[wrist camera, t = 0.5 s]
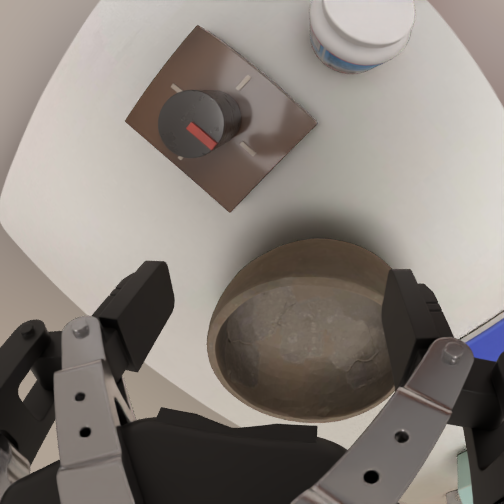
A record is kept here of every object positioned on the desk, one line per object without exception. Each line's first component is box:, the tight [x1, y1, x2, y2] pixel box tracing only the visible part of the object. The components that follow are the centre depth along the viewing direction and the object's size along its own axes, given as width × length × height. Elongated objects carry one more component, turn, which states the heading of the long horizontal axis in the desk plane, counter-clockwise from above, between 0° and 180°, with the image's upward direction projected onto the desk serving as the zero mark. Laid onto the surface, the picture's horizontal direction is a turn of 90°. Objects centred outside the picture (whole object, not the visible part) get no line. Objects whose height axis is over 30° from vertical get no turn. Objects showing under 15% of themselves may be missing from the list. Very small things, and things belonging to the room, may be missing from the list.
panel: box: [125, 25, 317, 212], centre depth 24 cm, size 12×10×3 cm
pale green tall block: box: [457, 451, 473, 504], centre depth 36 cm, size 17×8×21 cm
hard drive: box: [461, 312, 504, 362], centre depth 30 cm, size 2×8×12 cm
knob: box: [158, 90, 241, 158], centre depth 21 cm, size 4×4×5 cm
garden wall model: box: [446, 490, 462, 504], centre depth 50 cm, size 12×2×6 cm, turn 116°
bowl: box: [207, 238, 395, 423], centre depth 28 cm, size 17×18×10 cm
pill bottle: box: [309, 0, 415, 74], centre depth 16 cm, size 6×6×11 cm
